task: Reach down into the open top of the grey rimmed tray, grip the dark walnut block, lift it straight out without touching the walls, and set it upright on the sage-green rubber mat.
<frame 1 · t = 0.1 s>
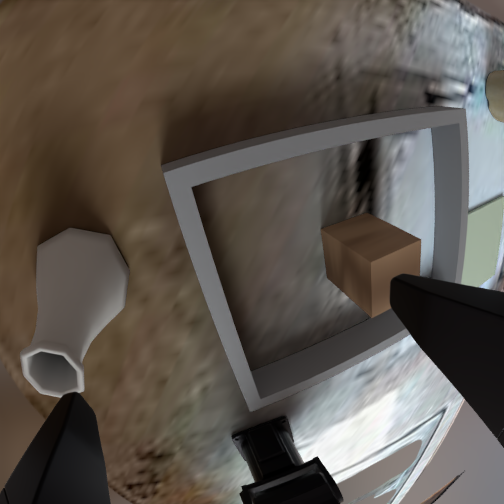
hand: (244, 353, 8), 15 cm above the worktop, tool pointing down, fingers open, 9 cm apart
flower pot: (495, 95, 26), on the worktop
flask: (81, 274, 20), on the worktop
walnut block: (347, 245, 26), resting in grey rimmed tray
grey rimmed tray: (347, 245, 26), on the worktop
mat: (476, 251, 33), on the worktop
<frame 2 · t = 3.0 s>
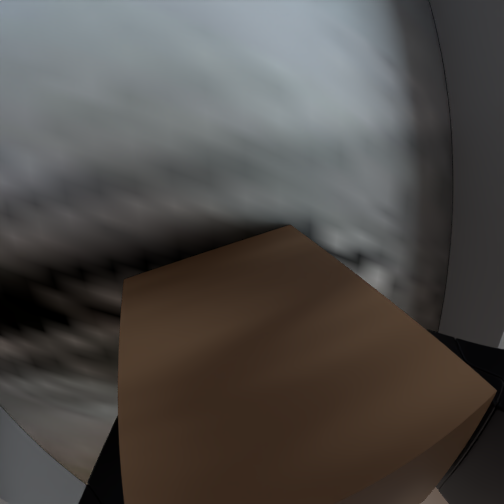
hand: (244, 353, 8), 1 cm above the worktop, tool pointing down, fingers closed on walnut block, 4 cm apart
walnut block: (229, 321, 9), resting in grey rimmed tray, touching gripper
grey rimmed tray: (229, 322, 9), on the worktop
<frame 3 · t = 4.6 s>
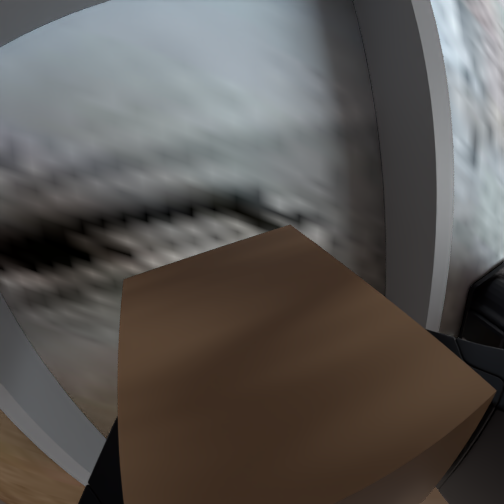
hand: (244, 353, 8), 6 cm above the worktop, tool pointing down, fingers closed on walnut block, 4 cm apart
walnut block: (229, 321, 9), point 4 cm above the worktop, touching gripper
grey rimmed tray: (202, 260, 13), on the worktop
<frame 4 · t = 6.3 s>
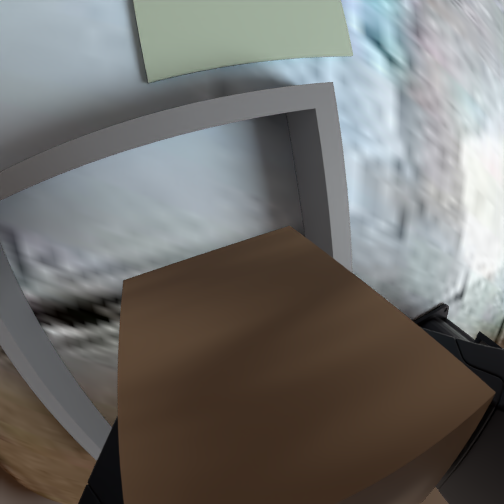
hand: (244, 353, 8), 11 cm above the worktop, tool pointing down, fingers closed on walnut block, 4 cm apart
walnut block: (228, 322, 9), point 10 cm above the worktop, touching gripper
grey rimmed tray: (180, 322, 20), on the worktop
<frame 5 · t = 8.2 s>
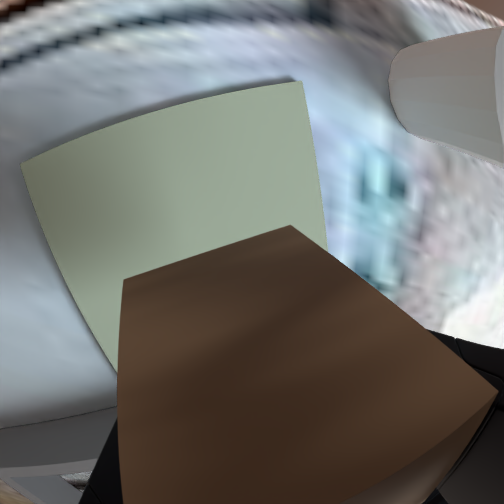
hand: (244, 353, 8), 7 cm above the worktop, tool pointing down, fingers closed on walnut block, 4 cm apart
shot glass: (421, 91, 15), on the worktop
walnut block: (229, 321, 9), point 6 cm above the worktop, touching gripper
grey rimmed tray: (182, 486, 21), on the worktop
mat: (196, 247, 14), on the worktop
when the fingers open (3 cm above the worktop, at t = 9.6 s): walnut block drops 1 cm, resting on mat.
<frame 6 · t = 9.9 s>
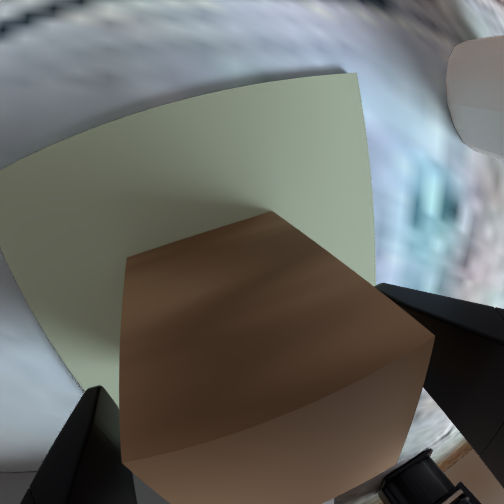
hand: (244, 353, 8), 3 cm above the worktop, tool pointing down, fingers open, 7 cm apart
shot glass: (475, 95, 11), on the worktop
walnut block: (219, 297, 10), resting on mat
mat: (215, 291, 11), on the worktop
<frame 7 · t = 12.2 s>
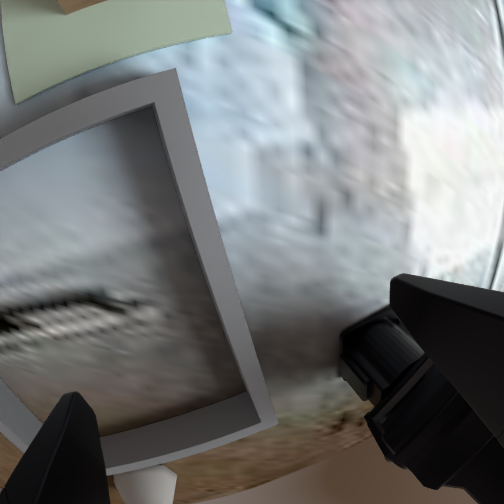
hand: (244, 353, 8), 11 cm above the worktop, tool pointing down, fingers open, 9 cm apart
flask: (144, 475, 27), on the worktop
grey rimmed tray: (79, 330, 18), on the worktop
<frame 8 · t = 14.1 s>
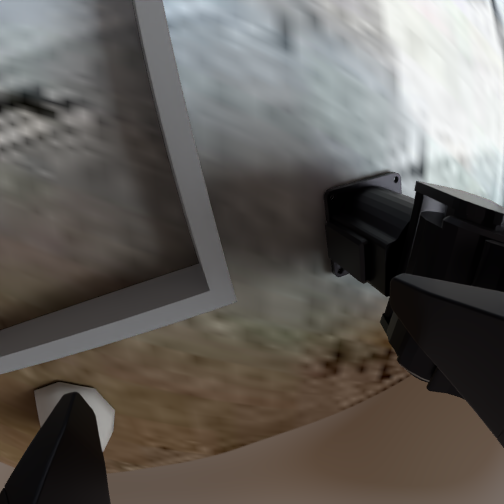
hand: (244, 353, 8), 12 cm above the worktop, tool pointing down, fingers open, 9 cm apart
flask: (74, 408, 21), on the worktop
grey rimmed tray: (4, 141, 13), on the worktop
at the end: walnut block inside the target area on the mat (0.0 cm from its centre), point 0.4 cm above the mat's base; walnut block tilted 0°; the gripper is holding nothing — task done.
